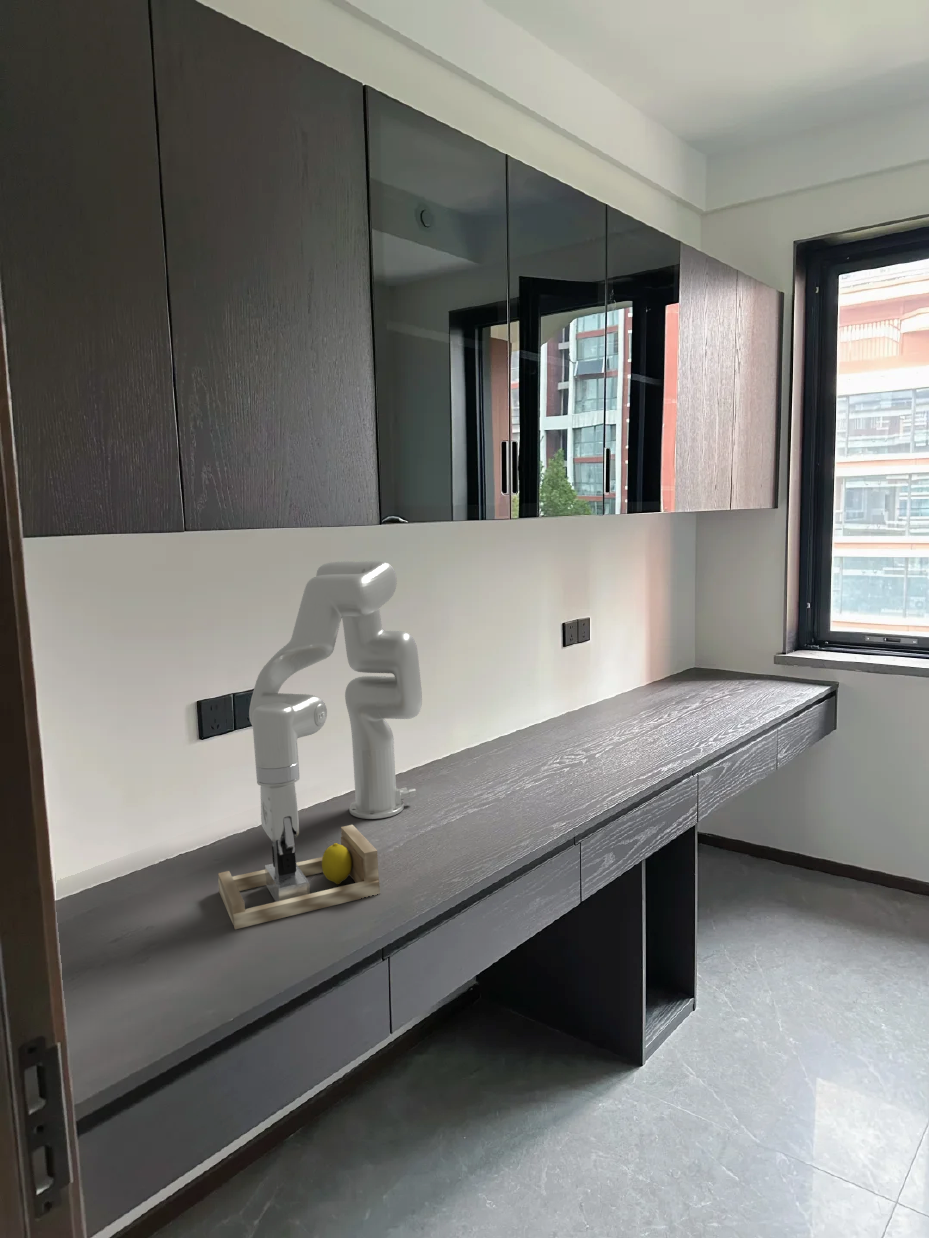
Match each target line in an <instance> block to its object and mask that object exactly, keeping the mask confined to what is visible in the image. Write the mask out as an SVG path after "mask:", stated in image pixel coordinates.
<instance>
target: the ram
mask: <svg viewBox="0 0 929 1238" xmlns="http://www.w3.org/2000/svg"><path fill="white" fill-rule="evenodd" d="M281 836H285V834H282V835H281ZM283 843H285V841H282V845H283ZM272 846H273V851H274V865H275V867H274V866H273V863H270V864H265V865H264V870H265V874H266V885H265V886H266V888H267V889H268V891H269V893H270V895H271V897H272V898H273V900H274V902H277V901H282V900H286V899H290V898H294V897H299V896H303V895H307V894H311V891H310V888H311V887H310V882H309V880H308V878H307V876H304V874H303V873H302V871H301V870H300V868H299V867H298V865H297V864H296V872H295V873H291V874H287V875H282V876H280V875H279V874H278V864H277V854H279V853H278V843H277V840H276V841H275V842H274V841H273V845H272Z"/></svg>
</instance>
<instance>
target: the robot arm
mask: <svg viewBox="0 0 929 1238" xmlns="http://www.w3.org/2000/svg"><path fill="white" fill-rule="evenodd" d="M315 575H316V576H314V577H312V578H310V579H309V580H308V581H307V583H306V584H305V587H304V591H303V594H302V597H301V601H300V604H299V608H298V612H297V616H296V620H295V622H294V626H293V630H292V635H291V638H290V640H289V641H288V643H286V644H285V645H283V646H282V647H281V649H279V650H278V651H277V652H276V653H275V654H274V655H273V656H272V657H271V658H270V659H269V660H268V661H267V663H266V664H265V665H264V666H263V667H262V669H261V670H260V672H259V674H258V675H257V678H256V680H255V684H254V688H253V692H252V695H251V698H250V704H249V711H248V715H249V716H248V718H249V722H250V724H251V726H252V736H253V748H254V759H255V762H254V763H255V774H256V784H257V785H258V786H260V791H259V792H260V821H261V826H262V829H263V831H264V832H265V834H266V835H267V837H268V838H269V840H271V845H272V846H271V853H272V854H271V855H272V864H273V866H274V867H275V865H274V851H273V841H274V842H275V841H276V840H277V843H278V853H279V854H277V864H278V874H279V875H280V876H282V875H287V874H291V873H295V872H296V863H297V861H296V860H297V858H296V847H295V839H294V838H297V837H298V836H299V835H300V823H299V822H300V821H299V810H298V807H299V806H298V799H297V791H296V784H295V783H297V782H298V781H299V780H300V765H299V752H298V751H299V748H298V739H300V738H303V737H309V736H312V735H313V734H315V733H317V732H319V731H320V730H321V729H322V728H323V726H324V725H325V723H326V720H327V716H328V709H327V705H326V703H325V701H324V700H323V699H322V698H321V697H319V696H317V695H313V694H306V693H304V694H303V693H302V694H301V693H284V692H283V693H279V691H280V689H281V688H282V686H283V685H284V683H286V681H287V680H288V679H289V678H290V677H291V676H293V675H294V674H297V672H300V671H301V670H303V669H306V668H308V667H310V666H313V665H315V664H318V663H319V662H322V661H324V660H326V659H327V658H329V657H330V656H331V655H332V654H333V652H334V651H335V646H336V642H337V641H336V640H337V637H338V633H339V630H340V629H339V628H340V625H341V622H342V627H343V635H344V636H343V637H344V643H345V650H346V657H347V662H348V664H349V667H350V668H351V670H352V671H354V672H358V673H364V674H367V673H368V674H392V675H393V676H387V675H386V676H385V675H384V676H383V675H363V676H357V677H355V678H353V679H352V680H350V681H349V682H348V683H347V684H346V685H347V686H346V687H345V692H344V698H345V704H346V705H345V706H346V709H347V712H348V718H349V722H350V723H349V724H350V729H351V732H350V733H351V742H352V743H351V745H352V746H351V747H352V758H353V759H352V761H353V762H352V763H353V777H354V780H353V781H354V793H355V797H354V798H355V800H354V801H353V802H351V803H350V805H349V813H350V815H352V816H353V817H356V818H357V819H358V818H359V819H366V820H378V819H385V818H390V817H393V816H395V815H398V814H399V813H400V812H402V811H403V810H404V805H405V803H404V800H405V799H406V798H409V799H410V798H414V797H417V789H416V788H409V789H408V787H406V786H405V787H401V788H398V786H397V782H396V778H397V777H396V764H395V763H396V761H395V741H394V739H395V738H394V734H393V730H392V728H391V727H390V725H389V723H388V722H387V720H386V719H390V720H391V719H392V720H409V719H414V718H416V717H417V716H418V715H419V714H420V712H421V709H422V704H423V694H422V693H423V692H422V684H421V683H422V682H421V672H420V671H421V670H420V662H419V661H420V660H419V653H418V647H417V643H416V641H415V638H414V637H413V635H412V634H410V632H408V631H403V630H384V628H383V624H382V616H381V610H380V608H381V607H382V606H384V605H385V604H387V602H389V601H390V600H391V599H392V597H393V596H394V594H395V592H396V589H397V586H398V585H397V584H398V583H397V582H398V580H397V573H396V571H395V569H394V567H393V566H392V565H391V564H390V563H389V562H386V561H380V560H374V561H373V560H367V561H364V560H363V561H362V560H361V561H360V560H359V561H354V560H353V561H348V560H347V561H346V560H345V561H331V562H330V561H329V562H327V563H324V564H322V565H320V566H319V567H318V568H317V570H316V574H315ZM282 834H285V836H281V835H282ZM282 841H285V843H283V845H282Z"/></svg>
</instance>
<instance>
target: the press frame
mask: <svg viewBox="0 0 929 1238" xmlns="http://www.w3.org/2000/svg"><path fill="white" fill-rule="evenodd" d="M340 834H341V836H340V845H343V846H344V847H346V848H347V850H348V851H349V853H350V856H351V860H352V867H351V872H350V874H349V876H350V877H351V879H352V880H353V881H354V882H355V883H350V884H346V885H341V886H338V887H337V886H336V887H333V888H329V889H325V890H324V889H323V890H320V891H317V892H316V891H315V892H312V893H311V892H310V894H307V895H303V896H299V897H294V898H290V899H286V900H282V901H277V902H275V901H274V902H270V903H266V904H265V903H264V904H261V905H256V906H253V907H249V908H246V907H245V905H246V904H245V901H244V899H243V896H242V894H241V893H240V892H241V891H245V890H251V889H254V888H260V887H263V886H264V887H265V886H266V874H265V869H261V870H256V871H252V872H246V873H244V874H237V875H233V876H232V873H231V872H230V870H226V871H222V872H218V874H217V876H218V880H217V883H218V892H219V894H220V898H221V900H222V902H223V904H224V907H225V909H226V912H227V913H228V916H229V918H230V921H231V923H232V925H233V927H234V928H233V929H234V930H238V929H243V928H247V927H250V926H255V925H259V924H262V923H266V922H268V923H269V922H272V921H275V920H279V919H284V918H286V917H288V918H289V917H291V916H292V917H293V916H295V915H300V914H304V913H307V912H311V911H312V912H313V911H315V910H321V909H323V908H327V907H328V908H329V907H333V906H336V905H340V904H345V903H348V902H352V901H356V900H357V901H358V900H360V899H361V898H362V899H365V898H364V897H366V898H369V897H368V896H370V897H373V896H372V895H374V896H377V894H378V895H380V894H381V891H380V890H381V887H380V877H379V858H378V856H379V855H378V850H377V849H376V848H375V846H374V845H373V844H372V843H371V842H370V841H369V840H368V839H367V838H366V837H365V836H364V835H363V834H362V833H361V831H359V830H358V828H357V827H355V825H353V824H349V825H345V826H340ZM322 858H323V856H321V857H320V856H319V857H316V858H311V859H307V860H303V861H296V864H297V865H298V867H299V868H300V870H301V871H302V873H303V874H304V876H305V877H308V876H313V875H316V874H320V873H323V869H322ZM362 899H361V900H362Z"/></svg>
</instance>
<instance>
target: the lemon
mask: <svg viewBox="0 0 929 1238" xmlns="http://www.w3.org/2000/svg"><path fill="white" fill-rule="evenodd" d="M322 857H323V858H322V869H323V872H322V873H323V876H325V878H326V879H327V880H328V881H330V882H332V883H335V884H336V885H340V884H341V883H342V882H343V881H345V880H346V879H347V878H348V877H349V876H350V875H349V874H350V872H351V867H352V860H351V856H350V853H349V851H348V850H347V848H346V847H344V846H343V845H341V843H340V844H339V843H337V842H335V843H333V844H332V845H329V846H328V847H327V848H326V849H325V850H324V852H323V854H322Z"/></svg>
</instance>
